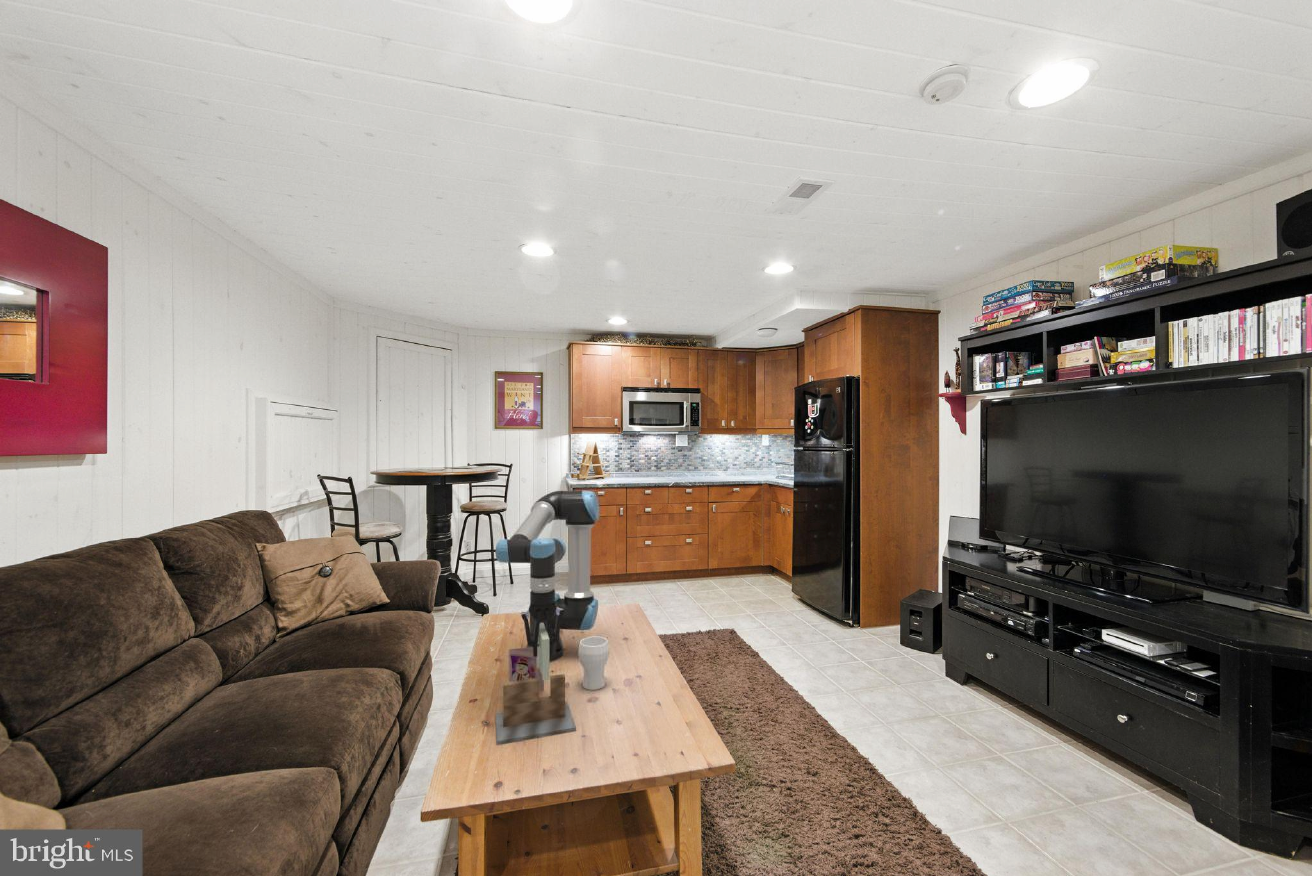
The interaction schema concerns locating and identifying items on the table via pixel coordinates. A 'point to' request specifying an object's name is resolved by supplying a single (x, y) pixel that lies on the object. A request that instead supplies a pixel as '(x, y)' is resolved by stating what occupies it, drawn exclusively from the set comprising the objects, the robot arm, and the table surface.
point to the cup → (593, 661)
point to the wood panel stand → (533, 711)
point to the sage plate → (544, 651)
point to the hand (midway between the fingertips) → (542, 665)
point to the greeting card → (524, 666)
